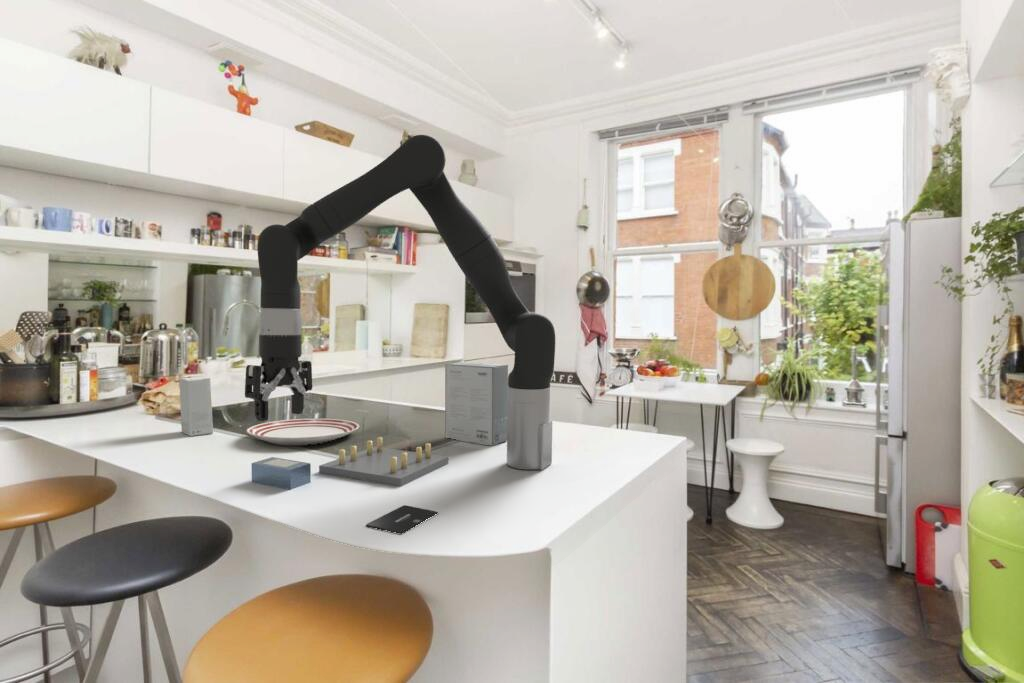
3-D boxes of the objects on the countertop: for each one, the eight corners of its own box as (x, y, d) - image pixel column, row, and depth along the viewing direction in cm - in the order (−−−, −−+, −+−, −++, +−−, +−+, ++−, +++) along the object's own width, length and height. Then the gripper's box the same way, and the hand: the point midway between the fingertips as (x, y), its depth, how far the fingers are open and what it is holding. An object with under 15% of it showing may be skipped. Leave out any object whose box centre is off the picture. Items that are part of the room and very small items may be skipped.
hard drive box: (508, 441, 144) (509, 364, 143) (492, 447, 138) (493, 367, 137) (461, 433, 153) (462, 361, 152) (443, 438, 146) (444, 363, 145)
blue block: (310, 483, 107) (310, 462, 107) (290, 491, 103) (290, 469, 102) (272, 476, 111) (272, 456, 111) (251, 483, 107) (251, 462, 107)
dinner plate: (284, 425, 160) (284, 414, 160) (374, 429, 157) (374, 418, 156) (222, 448, 133) (222, 434, 133) (329, 454, 129) (329, 440, 129)
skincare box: (213, 433, 147) (212, 378, 146) (187, 437, 143) (187, 379, 142) (204, 428, 153) (203, 375, 152) (179, 431, 149) (178, 376, 148)
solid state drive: (438, 515, 92) (438, 511, 92) (401, 537, 83) (401, 532, 83) (404, 508, 95) (404, 504, 95) (364, 528, 86) (364, 524, 86)
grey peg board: (448, 463, 122) (448, 443, 122) (400, 486, 106) (401, 463, 105) (374, 453, 130) (374, 433, 130) (319, 472, 114) (319, 451, 113)
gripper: (265, 334, 97) (264, 425, 98) (322, 332, 111) (322, 413, 111) (234, 332, 100) (234, 421, 101) (293, 331, 113) (293, 409, 114)
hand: (280, 417), depth 106 cm, fingers open, 8 cm apart
